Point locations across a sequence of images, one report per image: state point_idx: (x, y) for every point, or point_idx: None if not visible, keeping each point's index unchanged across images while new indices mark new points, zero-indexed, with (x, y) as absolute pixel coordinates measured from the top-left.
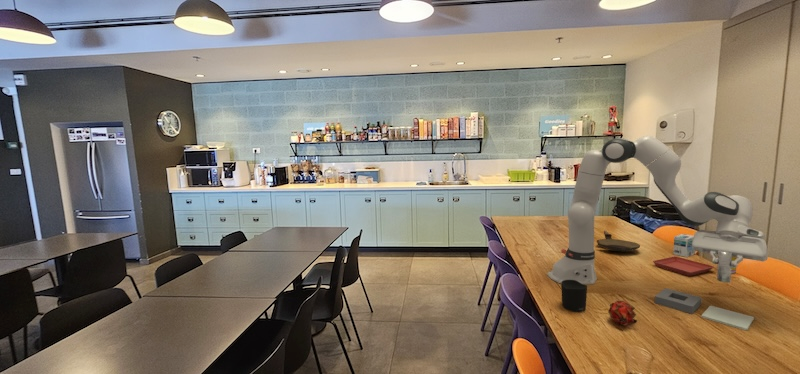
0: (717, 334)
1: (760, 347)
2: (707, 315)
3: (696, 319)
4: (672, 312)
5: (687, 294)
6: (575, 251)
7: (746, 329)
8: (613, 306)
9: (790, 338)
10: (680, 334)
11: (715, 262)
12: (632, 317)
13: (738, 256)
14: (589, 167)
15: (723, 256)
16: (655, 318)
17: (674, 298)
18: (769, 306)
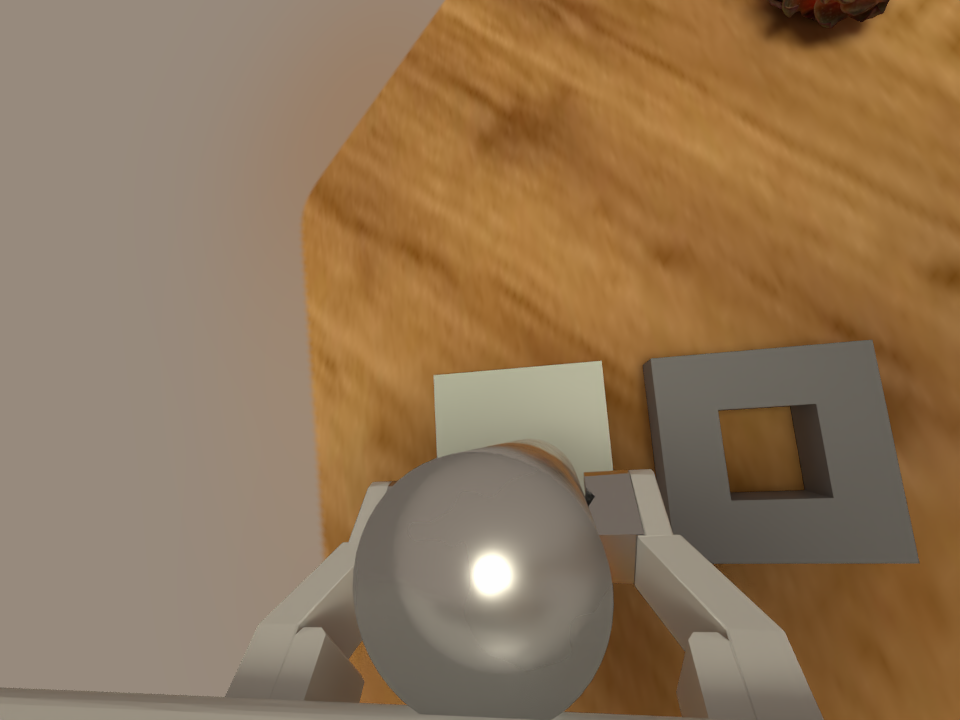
0: (501, 240)
1: (380, 263)
2: (582, 382)
3: (606, 318)
4: (713, 303)
5: (755, 547)
6: None
7: (437, 376)
8: None
9: (323, 440)
10: (592, 114)
11: (608, 474)
12: (787, 2)
13: (302, 643)
14: None
15: (487, 449)
16: (731, 164)
17: (773, 402)
18: None
